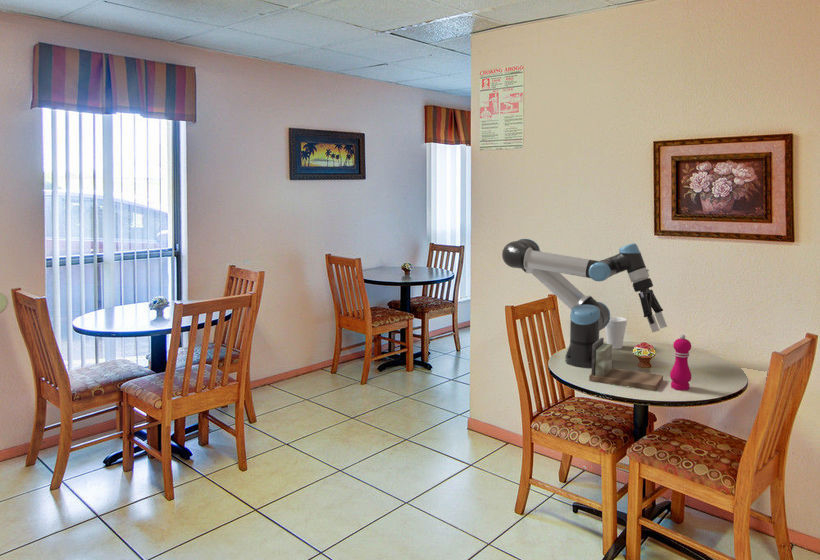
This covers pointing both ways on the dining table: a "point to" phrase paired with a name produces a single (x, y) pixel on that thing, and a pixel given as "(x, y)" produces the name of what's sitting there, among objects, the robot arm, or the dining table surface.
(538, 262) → the robot arm
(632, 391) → the dining table surface
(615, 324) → the foam cup
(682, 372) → the pepper mill
